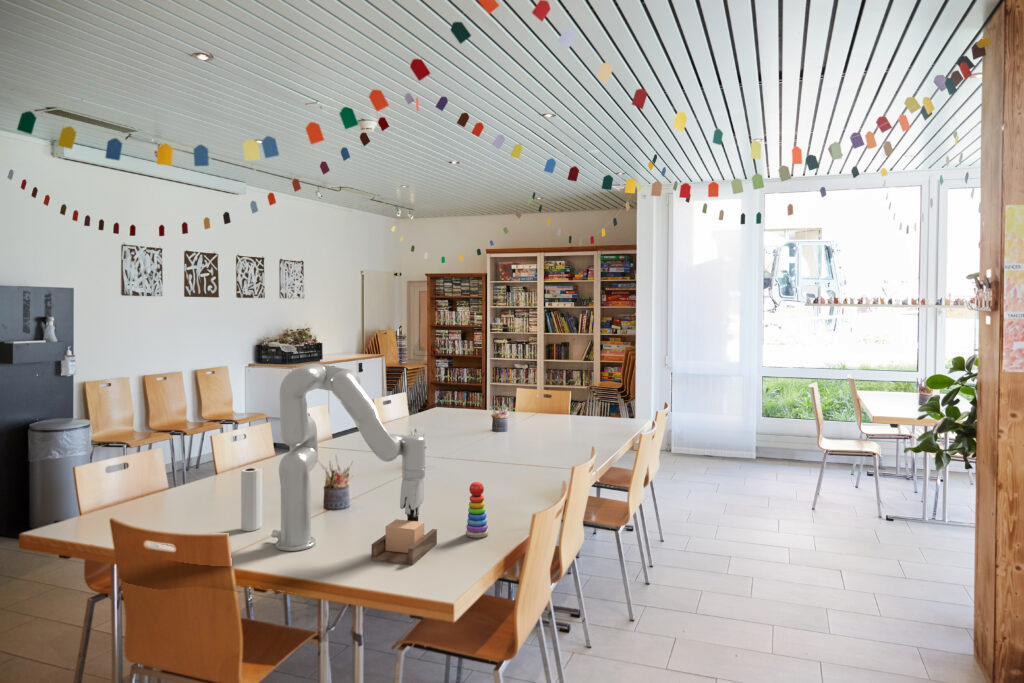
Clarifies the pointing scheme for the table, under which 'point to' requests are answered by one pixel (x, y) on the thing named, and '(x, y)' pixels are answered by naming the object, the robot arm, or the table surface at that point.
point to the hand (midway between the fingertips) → (412, 527)
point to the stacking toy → (476, 513)
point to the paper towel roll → (252, 499)
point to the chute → (404, 558)
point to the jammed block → (403, 535)
